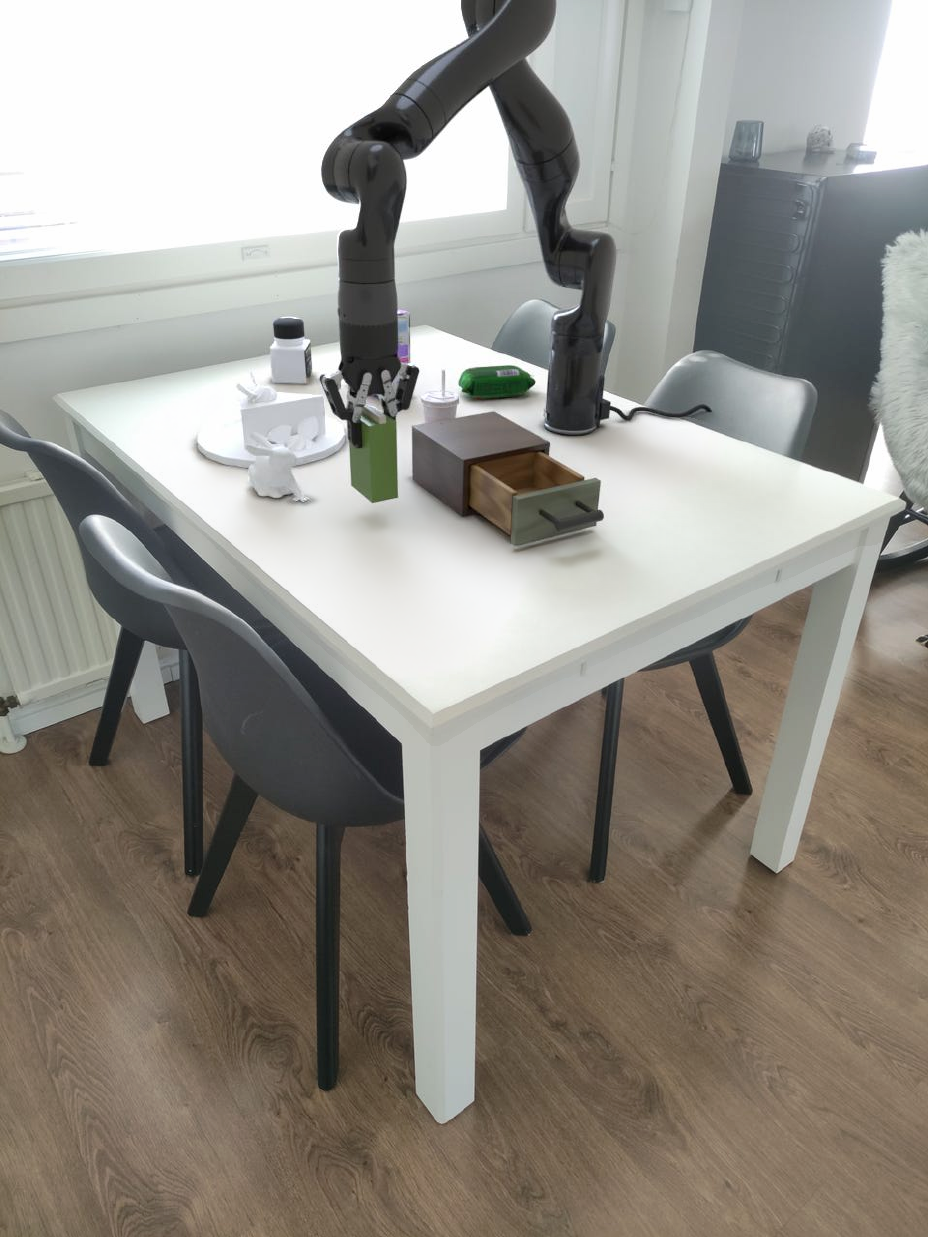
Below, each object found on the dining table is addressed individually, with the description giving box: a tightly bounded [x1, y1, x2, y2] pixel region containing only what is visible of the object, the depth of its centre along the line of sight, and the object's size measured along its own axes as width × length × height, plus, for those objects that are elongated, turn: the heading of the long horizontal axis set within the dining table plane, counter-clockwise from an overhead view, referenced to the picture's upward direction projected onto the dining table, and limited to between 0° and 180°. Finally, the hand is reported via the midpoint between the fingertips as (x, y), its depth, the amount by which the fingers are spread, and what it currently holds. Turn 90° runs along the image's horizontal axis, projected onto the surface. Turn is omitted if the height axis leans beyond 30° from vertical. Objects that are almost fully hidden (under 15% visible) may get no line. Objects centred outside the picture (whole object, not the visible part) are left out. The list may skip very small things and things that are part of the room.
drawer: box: [468, 450, 605, 548], centre depth 127 cm, size 20×14×7 cm
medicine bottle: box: [269, 316, 313, 385], centre depth 185 cm, size 7×7×12 cm
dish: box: [197, 368, 346, 469], centre depth 154 cm, size 25×25×11 cm
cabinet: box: [411, 410, 551, 518], centre depth 139 cm, size 16×15×9 cm
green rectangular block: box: [348, 402, 399, 504], centre depth 126 cm, size 7×4×12 cm, turn 30°
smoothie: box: [419, 369, 460, 423], centre depth 151 cm, size 6×6×14 cm
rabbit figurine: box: [246, 432, 311, 503], centre depth 136 cm, size 12×8×10 cm, turn 35°
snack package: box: [458, 364, 537, 400], centre depth 180 cm, size 7×16×5 cm, turn 104°
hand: (372, 443), depth 125 cm, fingers closed on green rectangular block, 4 cm apart
